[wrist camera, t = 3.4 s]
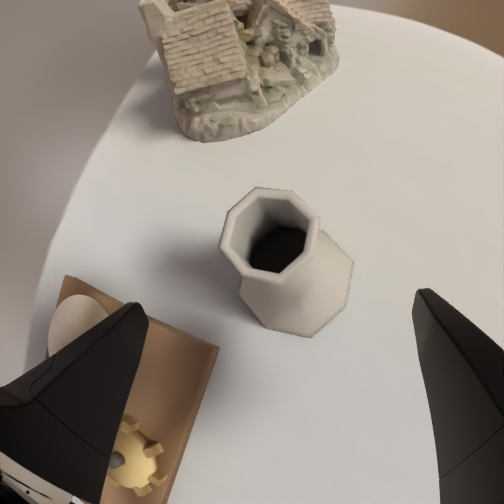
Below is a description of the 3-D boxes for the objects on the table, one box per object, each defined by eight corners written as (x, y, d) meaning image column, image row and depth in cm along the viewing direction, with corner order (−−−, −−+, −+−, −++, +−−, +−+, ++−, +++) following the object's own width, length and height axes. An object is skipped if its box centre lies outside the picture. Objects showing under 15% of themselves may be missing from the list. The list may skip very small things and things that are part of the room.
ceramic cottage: (160, 146, 24) (67, 19, 10) (203, 43, 28) (163, -56, 14) (344, 148, 21) (362, -35, 7) (336, 39, 25) (332, -75, 11)
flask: (221, 299, 19) (132, 274, 10) (276, 208, 20) (235, 115, 11) (316, 357, 17) (308, 394, 8) (371, 257, 18) (415, 189, 8)
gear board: (219, 347, 19) (196, 351, 15) (154, 539, 15) (134, 556, 12) (76, 277, 23) (47, 269, 20) (46, 457, 20) (23, 463, 16)
